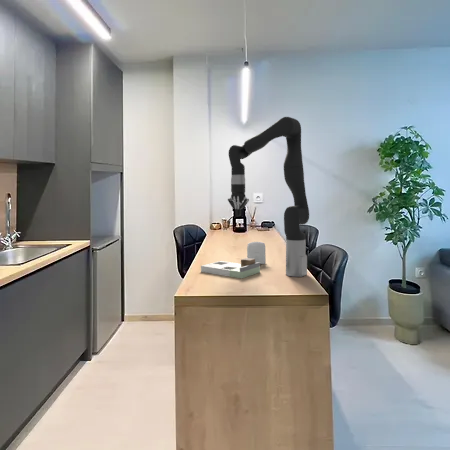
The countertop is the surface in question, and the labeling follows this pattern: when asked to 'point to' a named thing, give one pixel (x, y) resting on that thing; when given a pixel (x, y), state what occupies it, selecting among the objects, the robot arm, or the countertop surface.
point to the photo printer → (256, 252)
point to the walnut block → (247, 261)
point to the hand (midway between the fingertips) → (238, 216)
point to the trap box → (231, 269)
